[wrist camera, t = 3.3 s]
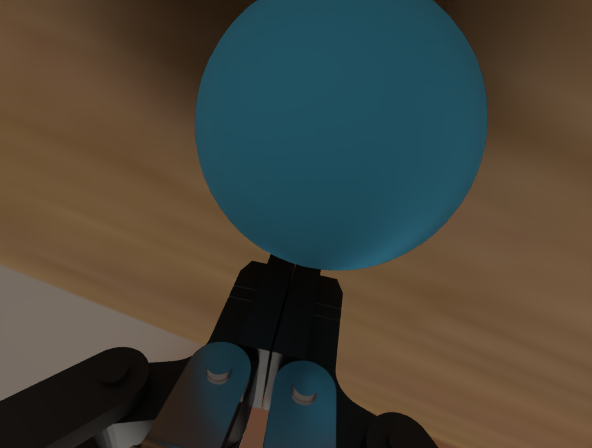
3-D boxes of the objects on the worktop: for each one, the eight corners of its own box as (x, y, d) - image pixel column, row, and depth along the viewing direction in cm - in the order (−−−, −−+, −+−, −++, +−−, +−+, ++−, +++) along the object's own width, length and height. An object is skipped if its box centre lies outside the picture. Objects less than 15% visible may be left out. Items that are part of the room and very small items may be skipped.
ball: (499, -2, 8) (647, 31, 4) (412, 208, 11) (436, 364, 7) (254, -54, 9) (117, -80, 4) (234, 166, 12) (145, 289, 7)
